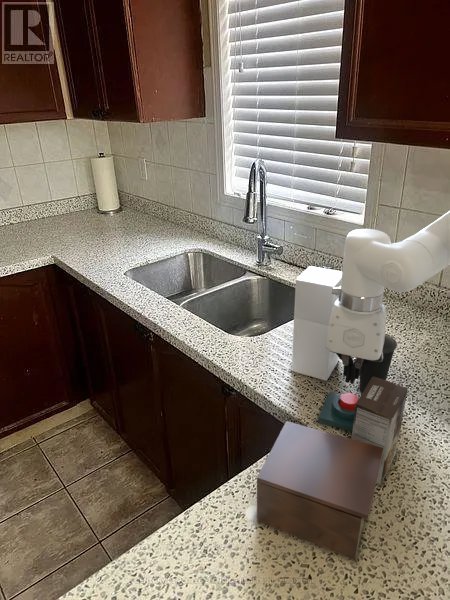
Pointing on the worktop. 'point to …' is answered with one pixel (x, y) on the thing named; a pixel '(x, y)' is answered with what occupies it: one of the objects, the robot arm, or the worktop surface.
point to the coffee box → (380, 419)
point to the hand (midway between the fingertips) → (350, 379)
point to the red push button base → (336, 413)
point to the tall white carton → (314, 322)
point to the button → (348, 401)
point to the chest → (309, 520)
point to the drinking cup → (378, 364)
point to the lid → (323, 468)
